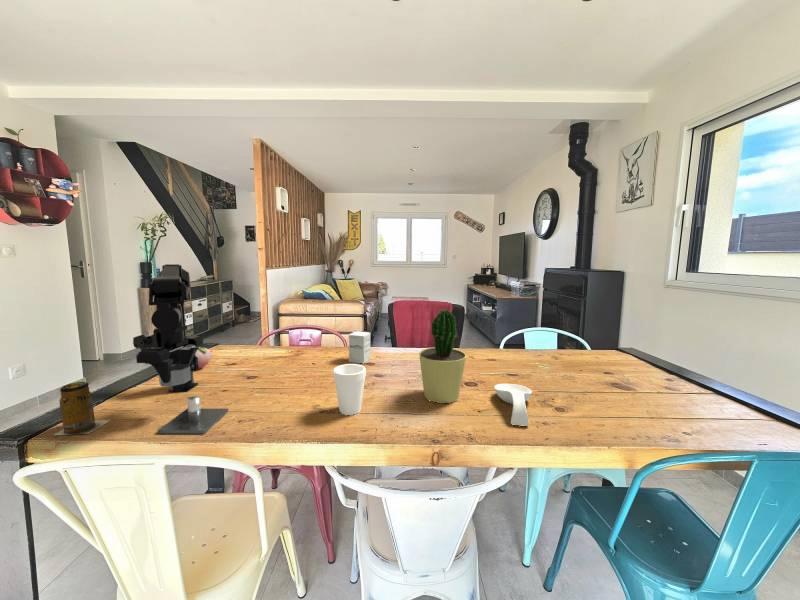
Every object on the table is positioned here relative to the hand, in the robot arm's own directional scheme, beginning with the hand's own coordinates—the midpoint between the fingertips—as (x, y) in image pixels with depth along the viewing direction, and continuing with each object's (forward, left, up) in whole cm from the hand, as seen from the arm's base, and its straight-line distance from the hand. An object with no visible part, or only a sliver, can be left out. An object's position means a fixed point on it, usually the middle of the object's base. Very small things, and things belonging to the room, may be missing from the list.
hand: (175, 378), depth 91 cm
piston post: (+3, +7, -12) cm, 14 cm away
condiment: (+6, -21, -12) cm, 25 cm away
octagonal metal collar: (0, 0, -1) cm, 1 cm away
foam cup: (-4, +49, -12) cm, 50 cm away
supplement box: (-50, +47, -12) cm, 69 cm away
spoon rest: (-6, +100, -12) cm, 101 cm away
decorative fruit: (-39, -17, -12) cm, 44 cm away
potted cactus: (-14, +78, -12) cm, 80 cm away
